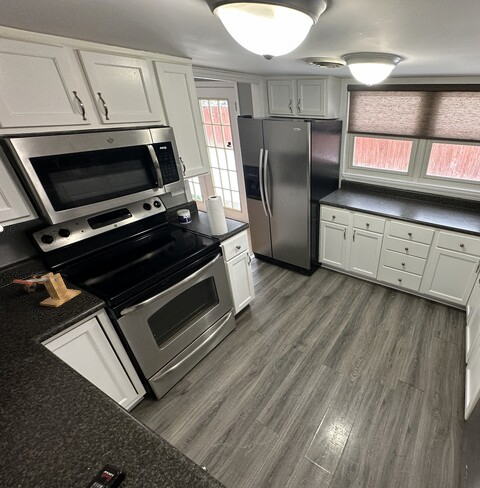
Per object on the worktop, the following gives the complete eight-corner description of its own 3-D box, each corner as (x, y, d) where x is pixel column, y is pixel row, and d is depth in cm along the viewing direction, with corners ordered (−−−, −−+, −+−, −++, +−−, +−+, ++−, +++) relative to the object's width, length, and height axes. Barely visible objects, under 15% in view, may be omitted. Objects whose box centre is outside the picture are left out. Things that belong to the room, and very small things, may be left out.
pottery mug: (33, 285, 141) (39, 271, 140) (54, 291, 144) (59, 277, 143) (13, 293, 129) (19, 278, 129) (36, 299, 132) (42, 285, 132)
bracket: (56, 307, 125) (44, 283, 119) (40, 305, 126) (27, 281, 120) (81, 292, 136) (71, 269, 130) (66, 290, 137) (55, 267, 131)
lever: (28, 286, 114) (28, 280, 114) (12, 284, 115) (13, 278, 115) (62, 281, 127) (62, 276, 127) (47, 279, 128) (48, 274, 128)
